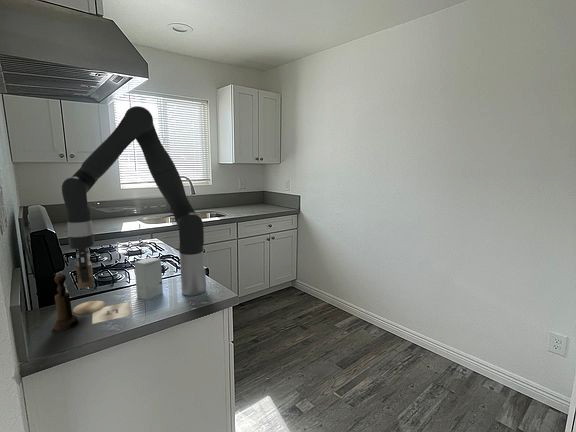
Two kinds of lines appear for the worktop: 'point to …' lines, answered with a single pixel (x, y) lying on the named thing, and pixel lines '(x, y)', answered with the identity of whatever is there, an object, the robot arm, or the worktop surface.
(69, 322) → the brown tall tapered piece
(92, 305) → the cork coaster
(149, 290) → the skincare box
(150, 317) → the worktop surface
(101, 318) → the tile
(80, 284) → the walnut block
